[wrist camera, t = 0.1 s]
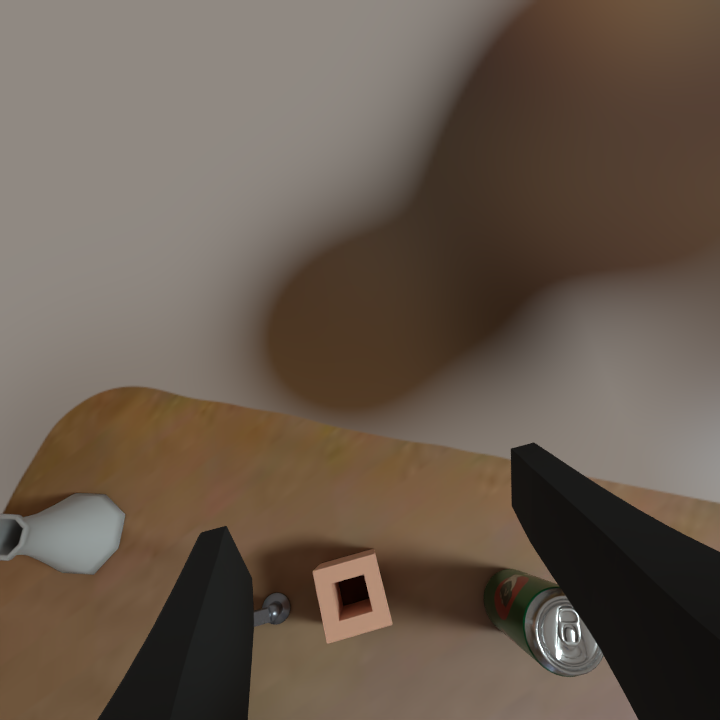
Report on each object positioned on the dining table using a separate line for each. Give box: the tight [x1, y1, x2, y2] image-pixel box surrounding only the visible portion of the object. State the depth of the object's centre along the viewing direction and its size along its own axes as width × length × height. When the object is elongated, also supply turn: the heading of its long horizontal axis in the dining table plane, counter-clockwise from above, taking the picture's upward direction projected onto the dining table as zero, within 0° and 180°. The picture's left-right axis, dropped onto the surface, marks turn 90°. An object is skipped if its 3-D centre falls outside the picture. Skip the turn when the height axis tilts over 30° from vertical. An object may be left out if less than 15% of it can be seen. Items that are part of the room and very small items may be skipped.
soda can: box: [484, 569, 603, 677], centre depth 33 cm, size 5×5×12 cm
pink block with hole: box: [313, 549, 393, 644], centre depth 36 cm, size 5×5×6 cm
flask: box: [0, 493, 125, 574], centre depth 36 cm, size 7×7×10 cm
